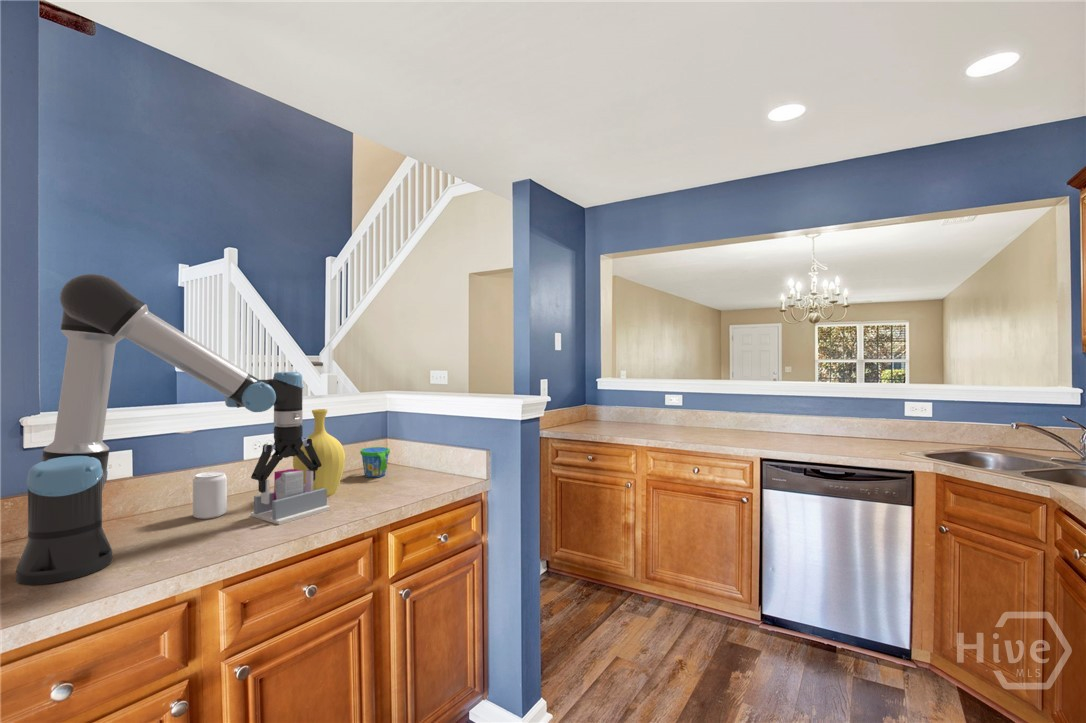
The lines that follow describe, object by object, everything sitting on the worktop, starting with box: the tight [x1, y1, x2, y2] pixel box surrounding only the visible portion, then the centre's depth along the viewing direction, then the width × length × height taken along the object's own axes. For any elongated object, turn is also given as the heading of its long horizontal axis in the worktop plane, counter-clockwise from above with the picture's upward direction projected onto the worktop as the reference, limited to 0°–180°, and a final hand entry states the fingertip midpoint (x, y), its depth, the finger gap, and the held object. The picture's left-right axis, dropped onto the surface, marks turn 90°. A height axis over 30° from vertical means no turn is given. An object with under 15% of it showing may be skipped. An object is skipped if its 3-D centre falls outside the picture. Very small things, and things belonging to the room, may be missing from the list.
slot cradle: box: [250, 484, 331, 526], centre depth 149 cm, size 16×14×6 cm
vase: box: [292, 408, 346, 497], centre depth 169 cm, size 16×16×28 cm
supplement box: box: [273, 468, 303, 501], centre depth 149 cm, size 6×6×12 cm
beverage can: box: [192, 470, 228, 520], centre depth 146 cm, size 8×8×12 cm
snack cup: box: [359, 446, 391, 479], centre depth 194 cm, size 16×10×10 cm
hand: (288, 497), depth 148 cm, fingers open, 13 cm apart
